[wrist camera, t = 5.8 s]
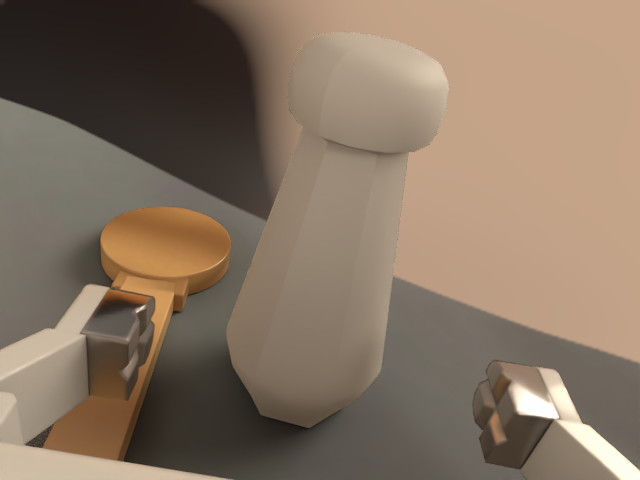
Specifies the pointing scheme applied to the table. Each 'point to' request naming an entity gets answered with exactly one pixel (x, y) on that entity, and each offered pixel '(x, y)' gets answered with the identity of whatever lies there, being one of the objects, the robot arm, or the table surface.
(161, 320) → the wooden spoon
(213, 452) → the table surface
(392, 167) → the salt shaker
